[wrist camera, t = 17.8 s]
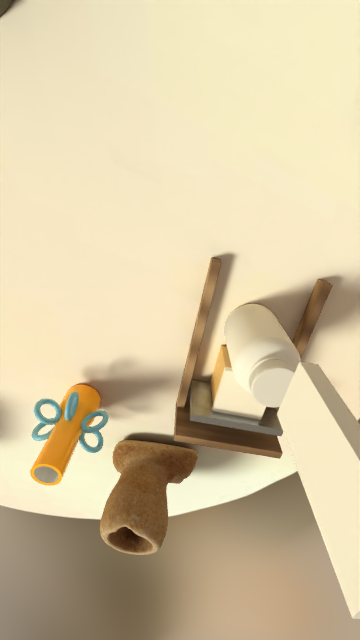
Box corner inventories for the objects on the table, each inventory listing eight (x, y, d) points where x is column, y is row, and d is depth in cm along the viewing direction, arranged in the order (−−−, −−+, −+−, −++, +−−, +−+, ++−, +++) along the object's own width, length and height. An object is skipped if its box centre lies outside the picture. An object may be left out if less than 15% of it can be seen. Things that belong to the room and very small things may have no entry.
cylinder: (130, 400, 52) (109, 478, 38) (94, 432, 55) (63, 514, 41) (72, 358, 48) (26, 427, 35) (38, 394, 52) (-17, 470, 38)
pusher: (191, 379, 49) (191, 414, 42) (270, 393, 50) (283, 430, 42) (190, 385, 49) (189, 420, 42) (268, 399, 50) (281, 436, 43)
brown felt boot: (111, 473, 60) (88, 559, 46) (117, 429, 55) (92, 511, 41) (186, 484, 60) (185, 572, 47) (198, 442, 55) (200, 527, 42)
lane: (211, 257, 41) (215, 274, 33) (326, 280, 42) (354, 302, 34) (176, 404, 52) (173, 440, 44) (267, 420, 52) (279, 458, 45)
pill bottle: (286, 312, 44) (329, 372, 30) (260, 356, 47) (289, 427, 33) (237, 293, 43) (259, 346, 29) (214, 339, 46) (224, 405, 32)
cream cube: (220, 344, 46) (225, 370, 40) (265, 352, 47) (277, 380, 40) (209, 381, 49) (212, 411, 43) (251, 388, 50) (260, 419, 43)
